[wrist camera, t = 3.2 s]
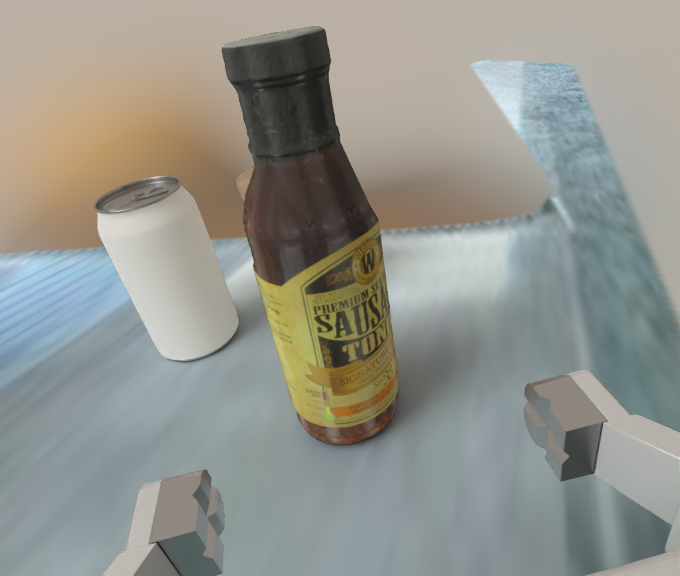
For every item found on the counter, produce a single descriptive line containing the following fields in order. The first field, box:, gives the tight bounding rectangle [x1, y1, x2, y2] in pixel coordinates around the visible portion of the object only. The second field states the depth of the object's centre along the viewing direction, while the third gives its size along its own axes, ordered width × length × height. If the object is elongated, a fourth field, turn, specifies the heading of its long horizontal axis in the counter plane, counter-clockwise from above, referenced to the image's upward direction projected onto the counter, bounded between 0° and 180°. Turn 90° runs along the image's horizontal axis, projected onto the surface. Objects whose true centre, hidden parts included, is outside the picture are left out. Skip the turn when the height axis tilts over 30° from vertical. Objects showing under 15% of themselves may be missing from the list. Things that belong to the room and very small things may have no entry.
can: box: [93, 176, 239, 361], centre depth 34 cm, size 6×6×12 cm
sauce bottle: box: [222, 26, 399, 445], centre depth 23 cm, size 7×6×20 cm
